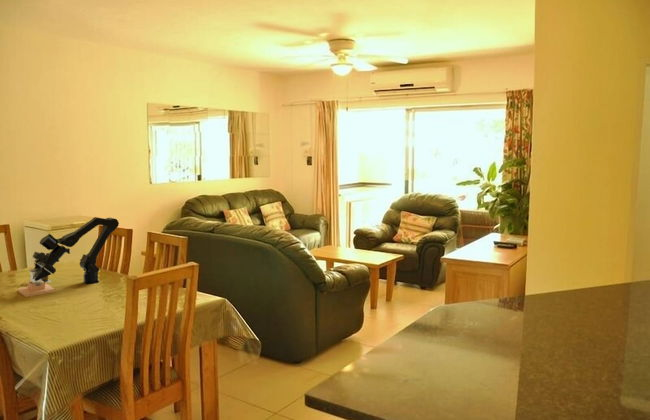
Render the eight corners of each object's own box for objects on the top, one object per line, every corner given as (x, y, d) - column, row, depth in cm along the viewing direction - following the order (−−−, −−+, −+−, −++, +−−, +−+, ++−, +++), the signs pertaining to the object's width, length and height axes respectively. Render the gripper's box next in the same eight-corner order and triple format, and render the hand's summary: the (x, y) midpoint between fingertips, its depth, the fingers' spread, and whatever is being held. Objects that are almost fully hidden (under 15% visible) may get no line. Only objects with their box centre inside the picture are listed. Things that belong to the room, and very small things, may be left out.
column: (40, 286, 266) (39, 268, 265) (42, 288, 263) (41, 269, 262) (30, 288, 263) (29, 269, 262) (32, 290, 260) (31, 271, 259)
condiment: (48, 279, 289) (47, 258, 287) (51, 282, 282) (50, 261, 281) (33, 280, 284) (32, 260, 283) (36, 284, 278) (35, 262, 276)
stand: (47, 286, 273) (46, 277, 273) (55, 291, 263) (54, 282, 263) (18, 291, 263) (17, 281, 263) (25, 296, 253) (24, 287, 253)
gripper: (37, 243, 270) (15, 266, 264) (48, 248, 257) (24, 273, 250) (54, 255, 276) (32, 278, 270) (65, 261, 263) (42, 285, 257)
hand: (32, 278), depth 262 cm, fingers open, 9 cm apart
